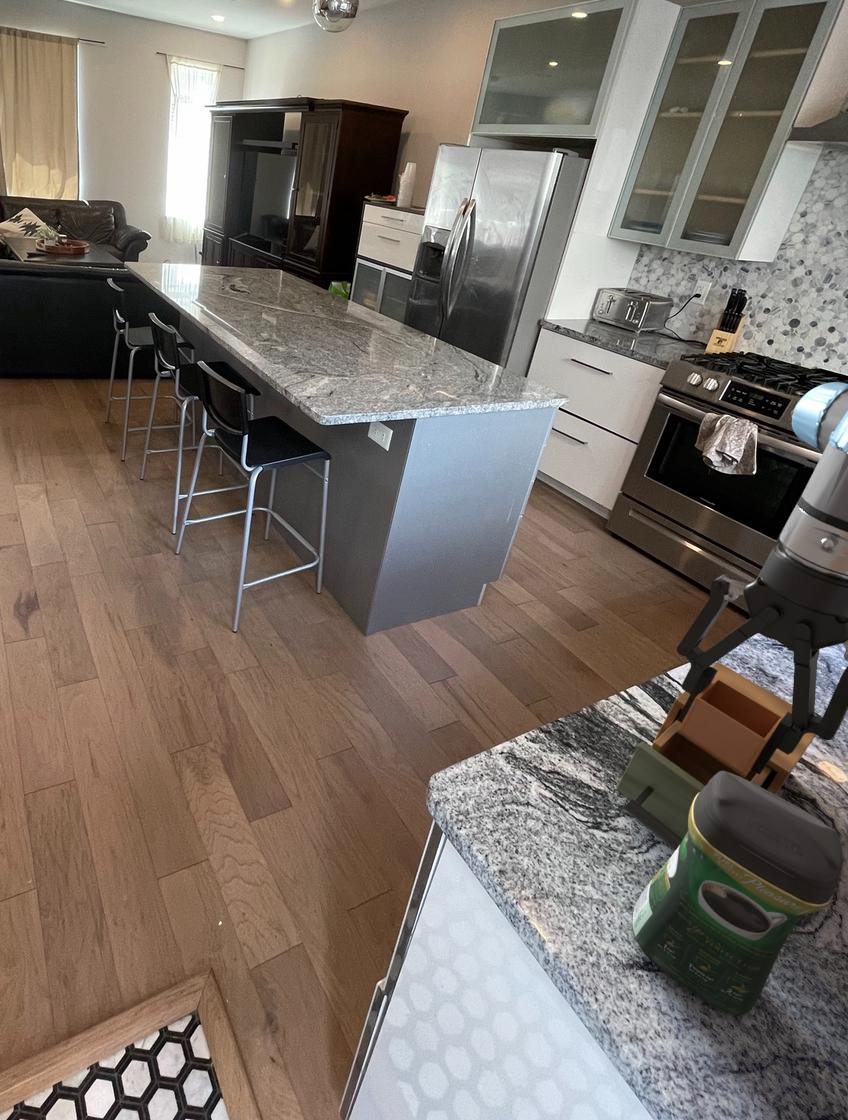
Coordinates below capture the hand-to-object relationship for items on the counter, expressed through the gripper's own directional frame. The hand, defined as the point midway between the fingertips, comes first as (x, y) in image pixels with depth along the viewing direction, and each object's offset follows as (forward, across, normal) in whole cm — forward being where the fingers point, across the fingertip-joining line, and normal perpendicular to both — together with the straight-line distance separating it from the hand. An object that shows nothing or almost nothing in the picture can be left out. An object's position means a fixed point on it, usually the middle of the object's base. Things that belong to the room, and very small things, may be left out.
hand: (721, 740), depth 67 cm
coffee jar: (+10, +7, -17) cm, 21 cm away
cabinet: (+10, 0, +11) cm, 15 cm away
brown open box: (0, 0, 0) cm, 0 cm away
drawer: (+9, 0, -2) cm, 10 cm away
